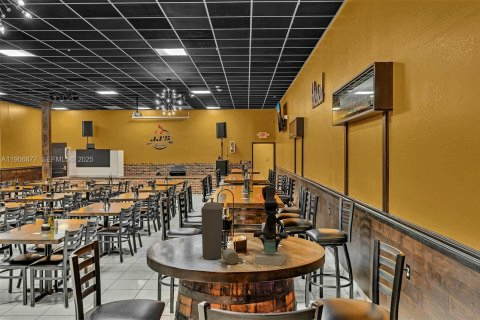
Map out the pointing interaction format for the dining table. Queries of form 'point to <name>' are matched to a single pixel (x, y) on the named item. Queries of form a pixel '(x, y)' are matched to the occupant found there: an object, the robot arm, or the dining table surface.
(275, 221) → the robot arm
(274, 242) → the teal block
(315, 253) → the dining table surface
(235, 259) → the ceramic mug
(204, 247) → the canister
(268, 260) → the grey base
